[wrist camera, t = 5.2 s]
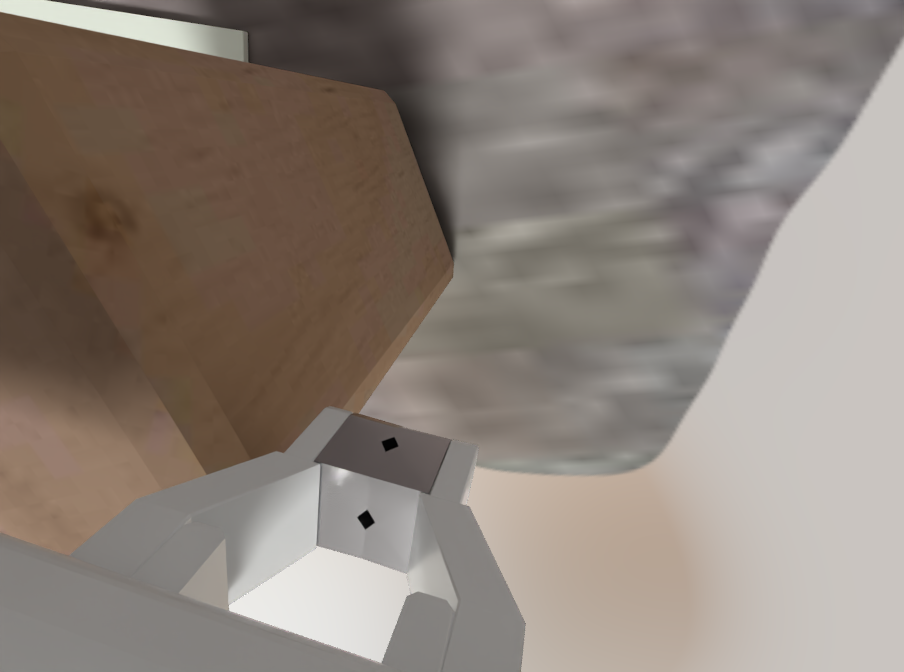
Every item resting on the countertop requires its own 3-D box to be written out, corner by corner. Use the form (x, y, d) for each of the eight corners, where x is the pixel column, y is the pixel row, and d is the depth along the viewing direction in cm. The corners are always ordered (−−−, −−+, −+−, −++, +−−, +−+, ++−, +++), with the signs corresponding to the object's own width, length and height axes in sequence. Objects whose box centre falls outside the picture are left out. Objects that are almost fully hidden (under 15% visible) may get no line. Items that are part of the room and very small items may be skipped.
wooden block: (393, 83, 24) (-122, -53, 6) (463, 275, 27) (269, 581, 9) (231, 157, 27) (-441, 222, 9) (310, 322, 30) (-68, 623, 12)
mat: (247, 32, 25) (243, 30, 24) (252, 323, 31) (249, 326, 31) (-106, -23, 28) (-115, -25, 27) (-33, 252, 34) (-39, 253, 34)
